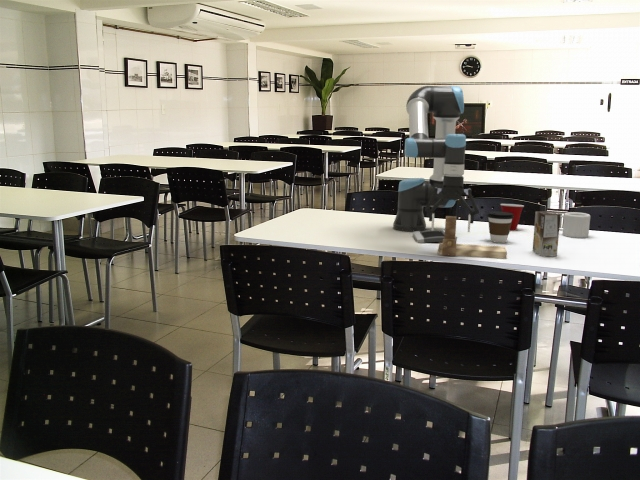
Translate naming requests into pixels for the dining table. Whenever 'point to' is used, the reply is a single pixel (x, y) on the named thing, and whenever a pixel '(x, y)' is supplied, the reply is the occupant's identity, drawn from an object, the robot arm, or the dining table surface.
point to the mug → (576, 225)
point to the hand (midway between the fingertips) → (450, 230)
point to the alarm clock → (430, 236)
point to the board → (478, 250)
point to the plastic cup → (515, 211)
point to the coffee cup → (499, 225)
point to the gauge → (450, 237)
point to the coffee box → (546, 233)
